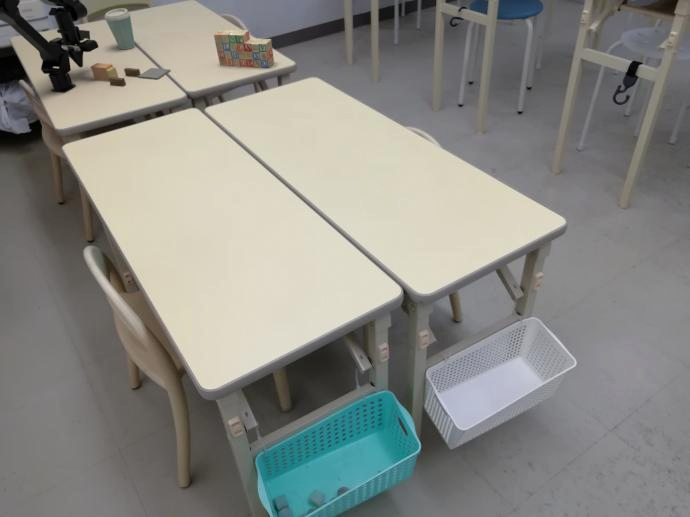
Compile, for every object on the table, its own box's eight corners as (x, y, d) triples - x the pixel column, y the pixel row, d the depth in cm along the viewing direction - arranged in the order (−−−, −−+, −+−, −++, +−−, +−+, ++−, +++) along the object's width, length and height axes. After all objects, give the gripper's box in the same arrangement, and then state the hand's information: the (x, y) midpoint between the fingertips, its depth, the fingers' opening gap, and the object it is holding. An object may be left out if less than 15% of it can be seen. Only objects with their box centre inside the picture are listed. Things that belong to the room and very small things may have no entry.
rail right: (138, 76, 208) (136, 70, 206) (125, 75, 210) (123, 69, 208) (140, 75, 209) (139, 68, 207) (128, 74, 211) (126, 67, 209)
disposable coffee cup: (131, 51, 232) (120, 15, 222) (109, 51, 233) (97, 14, 224) (143, 43, 239) (133, 7, 230) (121, 43, 241) (111, 7, 232)
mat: (157, 79, 205) (157, 78, 204) (138, 77, 207) (137, 76, 207) (170, 71, 211) (170, 69, 211) (151, 69, 214) (151, 67, 213)
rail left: (123, 86, 201) (121, 79, 200) (110, 84, 203) (108, 78, 201) (126, 84, 202) (124, 78, 201) (113, 83, 204) (110, 76, 202)
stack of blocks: (274, 62, 213) (270, 30, 205) (268, 68, 209) (264, 36, 201) (226, 60, 218) (220, 28, 210) (219, 65, 214) (213, 33, 206)
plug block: (112, 81, 206) (107, 68, 203) (95, 79, 208) (90, 66, 205) (118, 77, 209) (114, 64, 206) (101, 75, 211) (97, 63, 208)
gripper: (100, 20, 202) (113, 61, 212) (61, 17, 207) (75, 58, 217) (81, 29, 194) (95, 71, 204) (40, 26, 199) (56, 68, 209)
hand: (81, 67), depth 209 cm, fingers closed
